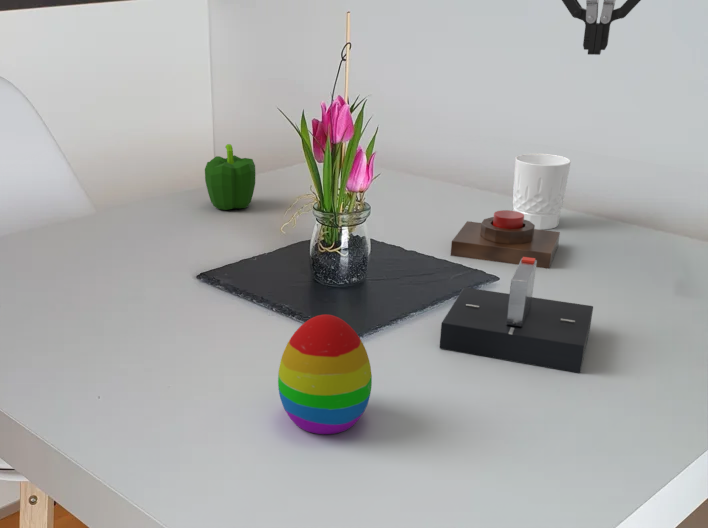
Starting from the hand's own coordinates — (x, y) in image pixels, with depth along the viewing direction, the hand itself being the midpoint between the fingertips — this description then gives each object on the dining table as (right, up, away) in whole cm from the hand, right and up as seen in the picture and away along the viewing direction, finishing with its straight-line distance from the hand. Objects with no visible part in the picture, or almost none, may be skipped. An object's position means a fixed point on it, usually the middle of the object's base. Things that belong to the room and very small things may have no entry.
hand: (594, 53), depth 107 cm
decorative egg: (-37, -42, -32) cm, 65 cm away
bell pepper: (-47, -16, +32) cm, 59 cm away
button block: (-9, -25, +10) cm, 28 cm away
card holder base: (-15, -36, -17) cm, 42 cm away
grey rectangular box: (-15, -33, -18) cm, 41 cm away
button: (-9, -21, +8) cm, 24 cm away
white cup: (0, -20, +22) cm, 29 cm away
